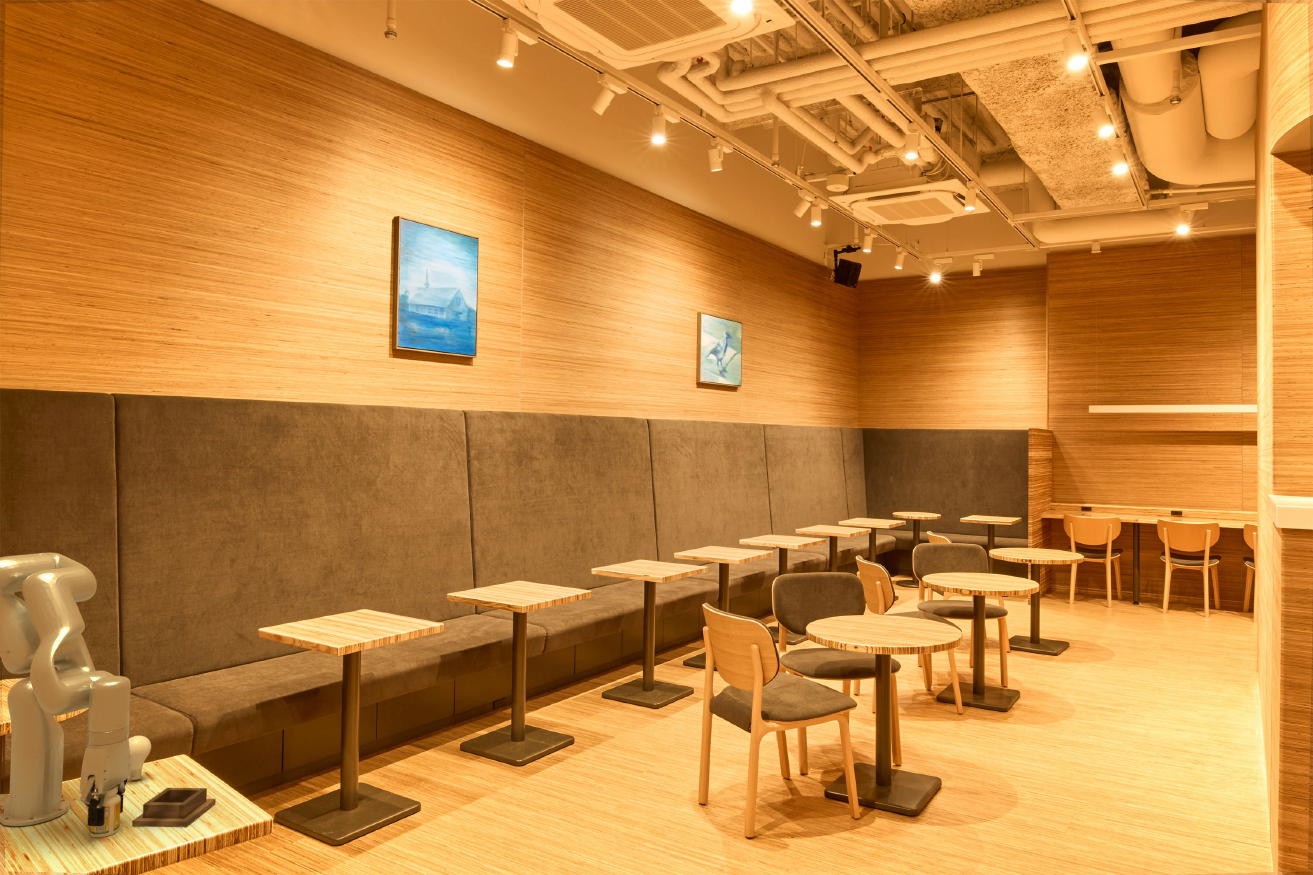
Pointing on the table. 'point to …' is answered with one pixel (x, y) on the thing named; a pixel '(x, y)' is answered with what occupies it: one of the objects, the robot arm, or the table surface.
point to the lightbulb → (138, 755)
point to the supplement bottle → (109, 814)
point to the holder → (174, 808)
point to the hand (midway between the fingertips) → (105, 818)
